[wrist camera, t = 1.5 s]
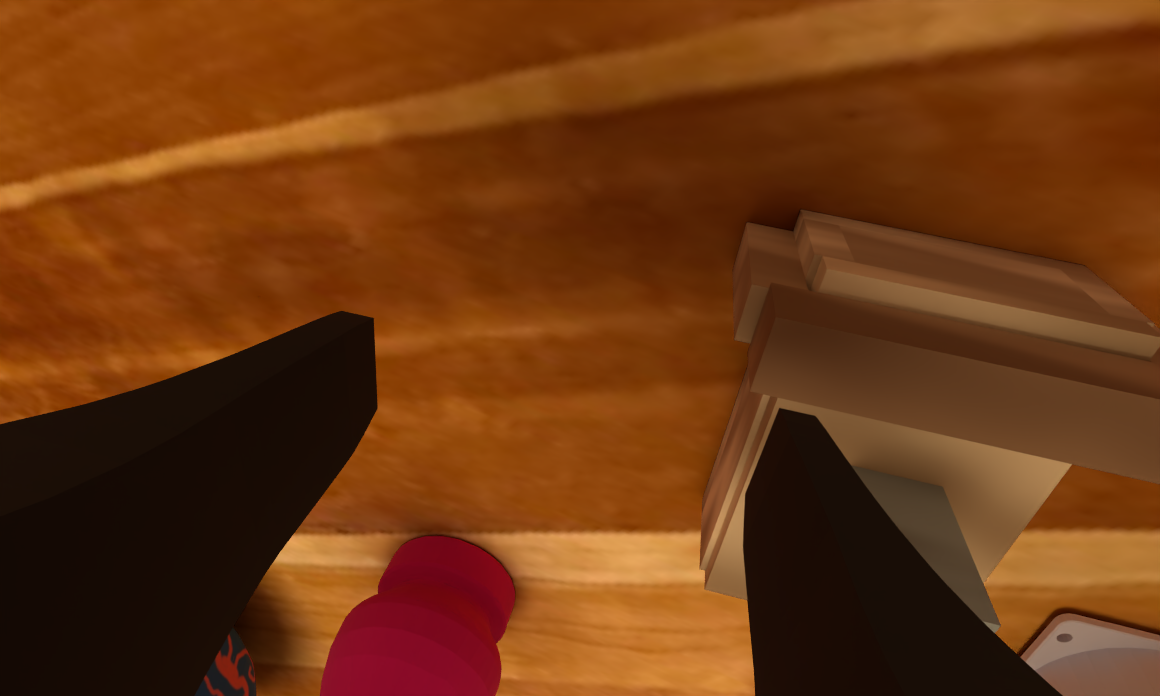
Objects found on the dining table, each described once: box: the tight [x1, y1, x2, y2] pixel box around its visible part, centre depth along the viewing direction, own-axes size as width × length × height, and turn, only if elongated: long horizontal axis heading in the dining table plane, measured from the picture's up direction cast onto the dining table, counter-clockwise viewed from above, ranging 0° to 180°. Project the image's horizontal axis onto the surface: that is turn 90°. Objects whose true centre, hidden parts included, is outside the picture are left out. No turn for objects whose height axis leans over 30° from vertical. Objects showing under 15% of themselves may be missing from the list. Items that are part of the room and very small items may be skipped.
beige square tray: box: [700, 209, 1160, 570], centre depth 20 cm, size 12×11×4 cm
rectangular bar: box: [748, 282, 1160, 484], centre depth 14 cm, size 2×10×2 cm, turn 82°
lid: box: [705, 256, 1160, 633], centre depth 16 cm, size 12×8×5 cm, turn 172°
